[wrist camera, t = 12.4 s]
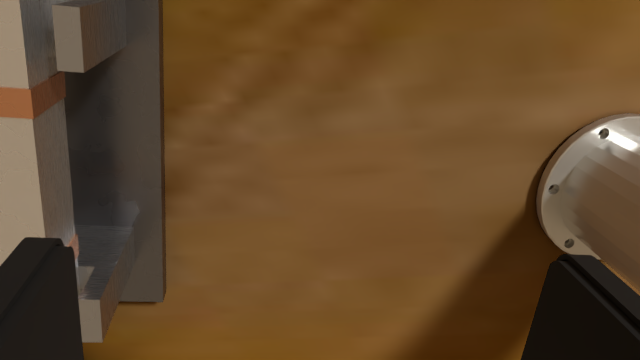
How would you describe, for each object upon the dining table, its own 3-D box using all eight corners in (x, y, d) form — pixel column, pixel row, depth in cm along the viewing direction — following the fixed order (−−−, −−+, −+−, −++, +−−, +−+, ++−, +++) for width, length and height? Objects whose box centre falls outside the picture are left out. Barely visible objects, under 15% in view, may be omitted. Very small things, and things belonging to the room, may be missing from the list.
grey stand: (161, -62, 33) (121, -72, 23) (166, 290, 42) (139, 387, 33) (-67, -87, 31) (-214, -110, 21) (-8, 287, 40) (-90, 389, 31)
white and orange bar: (86, 335, 35) (62, 387, 31) (12, 335, 34) (-22, 387, 30) (53, -56, 26) (14, -60, 22) (-47, -67, 25) (-108, -73, 21)
